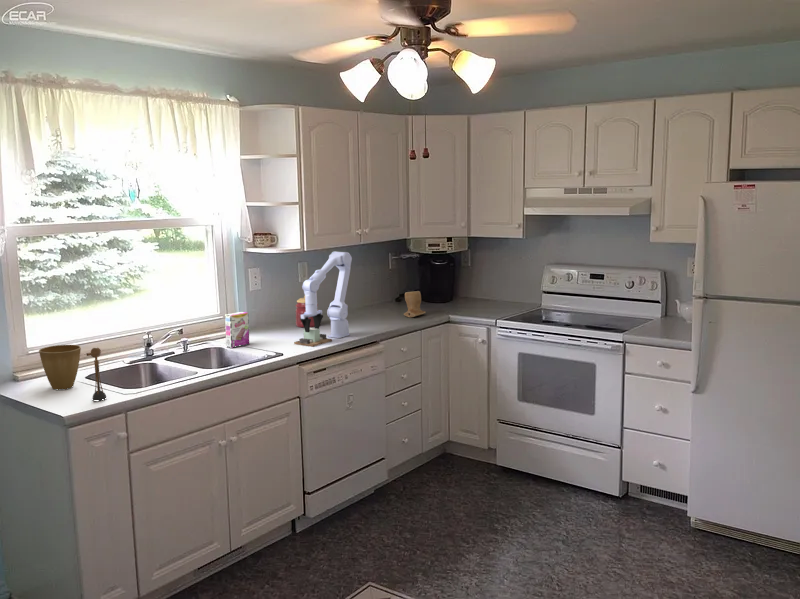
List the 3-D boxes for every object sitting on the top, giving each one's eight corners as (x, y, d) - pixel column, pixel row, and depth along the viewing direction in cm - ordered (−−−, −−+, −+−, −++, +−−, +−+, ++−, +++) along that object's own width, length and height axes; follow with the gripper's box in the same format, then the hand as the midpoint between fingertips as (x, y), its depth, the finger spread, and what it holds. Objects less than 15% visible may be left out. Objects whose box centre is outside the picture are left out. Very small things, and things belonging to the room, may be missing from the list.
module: (309, 339, 361) (308, 327, 360) (319, 340, 358) (319, 328, 357) (304, 340, 358) (303, 328, 357) (314, 342, 354) (314, 330, 353)
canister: (315, 322, 411) (314, 292, 408) (321, 326, 399) (320, 295, 396) (293, 324, 406) (292, 293, 403) (299, 328, 394) (298, 297, 391)
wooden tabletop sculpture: (95, 402, 262) (90, 349, 259) (87, 401, 265) (82, 348, 262) (109, 398, 267) (104, 346, 264) (101, 397, 270) (97, 345, 266)
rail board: (313, 338, 368) (313, 332, 367) (331, 340, 361) (331, 335, 361) (294, 344, 355) (293, 338, 355) (313, 346, 349) (312, 340, 348)
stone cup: (411, 313, 437) (411, 288, 435) (428, 314, 431) (428, 290, 428) (398, 317, 424) (397, 292, 422) (415, 318, 418) (415, 293, 416)
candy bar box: (232, 348, 347) (230, 315, 345) (225, 347, 350) (223, 314, 348) (250, 344, 356) (248, 312, 353) (244, 343, 359) (242, 311, 356)
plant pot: (65, 394, 274) (62, 353, 272) (33, 391, 278) (30, 351, 276) (92, 383, 288) (88, 345, 286) (61, 381, 292) (57, 343, 290)
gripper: (314, 301, 363) (315, 327, 365) (295, 305, 351) (296, 332, 353) (325, 302, 359) (326, 328, 361) (306, 306, 347) (307, 334, 349)
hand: (312, 330), depth 357 cm, fingers open, 7 cm apart
